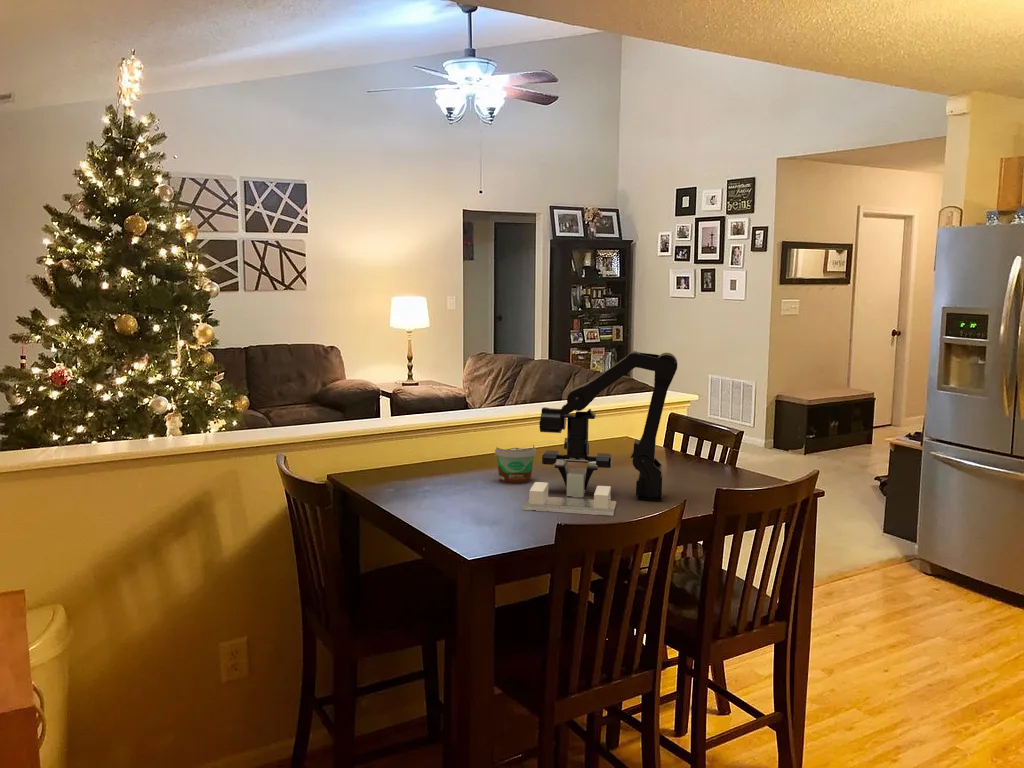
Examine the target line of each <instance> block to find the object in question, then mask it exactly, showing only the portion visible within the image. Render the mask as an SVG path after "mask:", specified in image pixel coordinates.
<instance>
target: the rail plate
mask: <svg viewBox="0 0 1024 768" xmlns="http://www.w3.org/2000/svg"><path fill="white" fill-rule="evenodd" d="M616 506H617V501H615V500H610V504H609V508H608V509H604V508H594V499H588V498H587V499H586V498H575V497H555V496H553V497H552V496H548V498H547V500H546V502H545V504H543V505H542V504H529V497H528V498H527V500H526V501H524V502H523V505H522V510H523V511H532V510H536V511H535V512H537V511H538V512H547V511H548V512H551V513H566V514H578V515H579V514H580V515H581V514H582V515H592V516H593V515H594V516H595V515H596V516H597V515H598V516H611V517H613V516H614V514H615V510H616Z"/></svg>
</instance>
